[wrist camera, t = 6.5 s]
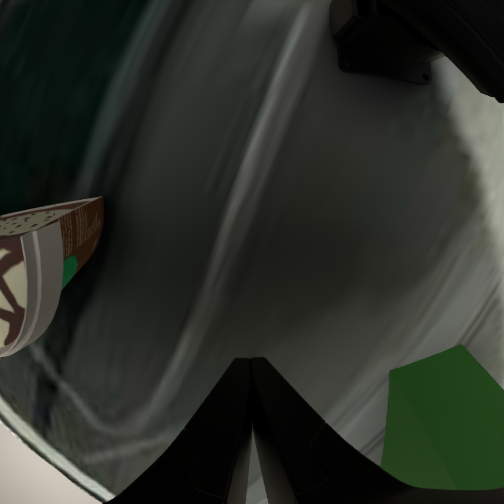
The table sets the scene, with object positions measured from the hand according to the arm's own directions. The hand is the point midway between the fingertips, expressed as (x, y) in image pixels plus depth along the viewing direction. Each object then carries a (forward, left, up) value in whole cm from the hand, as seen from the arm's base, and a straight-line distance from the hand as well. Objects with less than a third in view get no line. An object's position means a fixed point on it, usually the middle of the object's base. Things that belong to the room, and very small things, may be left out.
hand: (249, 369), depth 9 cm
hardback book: (-17, +19, -12) cm, 28 cm away
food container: (+13, 0, -12) cm, 18 cm away
